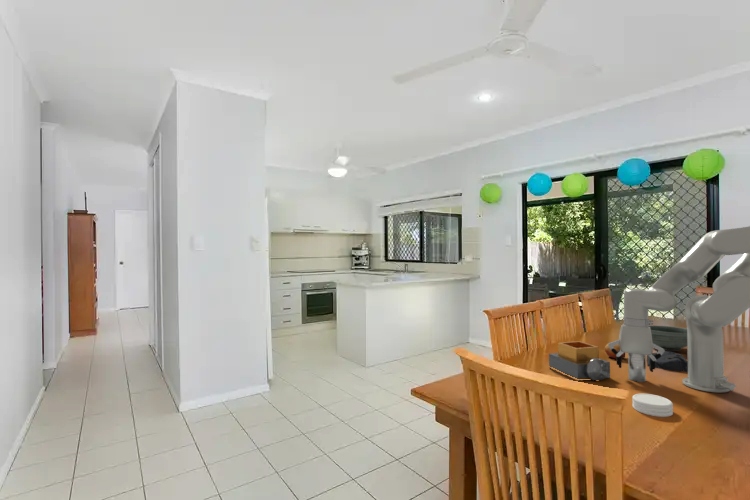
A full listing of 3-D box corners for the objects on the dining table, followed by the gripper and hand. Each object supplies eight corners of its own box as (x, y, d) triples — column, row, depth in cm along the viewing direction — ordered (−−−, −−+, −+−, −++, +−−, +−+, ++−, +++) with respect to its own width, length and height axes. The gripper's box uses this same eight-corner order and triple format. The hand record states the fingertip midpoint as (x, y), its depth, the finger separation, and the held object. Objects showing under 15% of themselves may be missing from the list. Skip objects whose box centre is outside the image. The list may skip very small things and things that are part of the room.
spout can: (649, 381, 141) (648, 347, 141) (637, 382, 140) (637, 348, 140) (636, 376, 146) (636, 343, 146) (625, 377, 145) (624, 344, 145)
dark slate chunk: (688, 360, 167) (688, 349, 167) (695, 374, 149) (695, 362, 149) (645, 355, 176) (645, 345, 176) (647, 368, 157) (646, 356, 157)
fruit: (634, 356, 168) (624, 340, 168) (618, 366, 168) (609, 350, 168) (623, 351, 176) (613, 336, 176) (608, 360, 176) (598, 345, 176)
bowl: (651, 353, 177) (651, 331, 177) (635, 342, 197) (635, 323, 197) (706, 356, 171) (705, 333, 171) (683, 345, 191) (683, 324, 191)
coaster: (634, 401, 123) (634, 390, 123) (673, 409, 117) (673, 397, 117) (630, 412, 116) (630, 400, 116) (672, 421, 109) (672, 408, 109)
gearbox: (614, 379, 143) (614, 349, 143) (581, 383, 140) (581, 352, 140) (578, 365, 161) (578, 339, 161) (549, 368, 158) (548, 341, 158)
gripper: (662, 323, 142) (662, 369, 142) (607, 318, 150) (607, 362, 151) (666, 326, 136) (666, 375, 136) (609, 322, 144) (608, 368, 144)
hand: (635, 368), depth 143 cm, fingers open, 9 cm apart
